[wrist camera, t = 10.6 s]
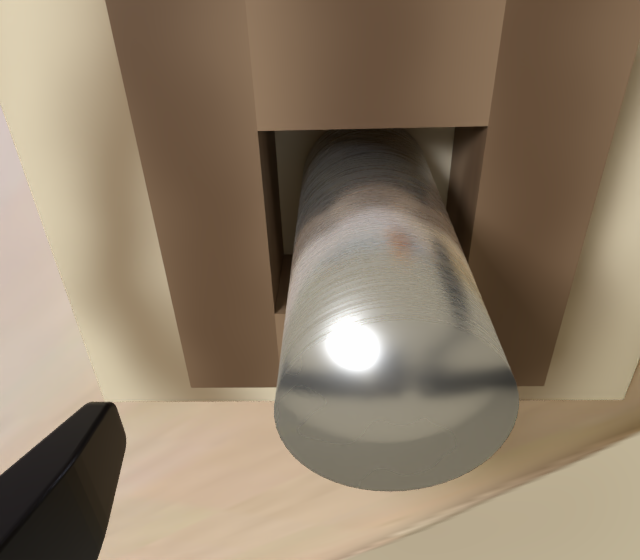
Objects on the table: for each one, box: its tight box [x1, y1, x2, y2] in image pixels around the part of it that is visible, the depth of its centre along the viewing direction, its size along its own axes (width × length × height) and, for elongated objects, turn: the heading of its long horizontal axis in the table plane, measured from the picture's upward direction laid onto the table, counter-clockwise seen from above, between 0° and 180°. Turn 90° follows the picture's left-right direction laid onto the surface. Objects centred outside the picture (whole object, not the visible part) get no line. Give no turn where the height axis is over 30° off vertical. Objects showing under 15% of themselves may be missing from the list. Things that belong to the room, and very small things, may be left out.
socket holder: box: [0, 0, 640, 402], centre depth 16 cm, size 22×20×4 cm
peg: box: [274, 128, 519, 491], centre depth 13 cm, size 4×4×10 cm
